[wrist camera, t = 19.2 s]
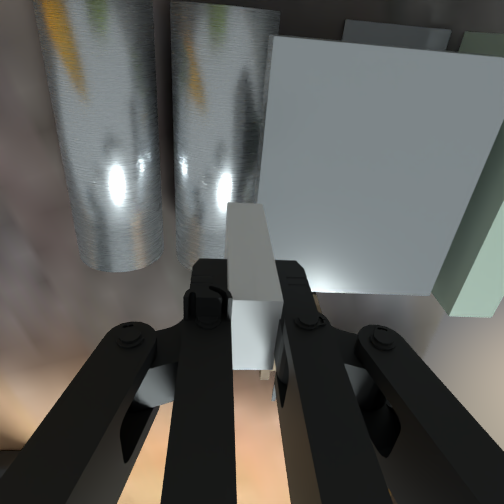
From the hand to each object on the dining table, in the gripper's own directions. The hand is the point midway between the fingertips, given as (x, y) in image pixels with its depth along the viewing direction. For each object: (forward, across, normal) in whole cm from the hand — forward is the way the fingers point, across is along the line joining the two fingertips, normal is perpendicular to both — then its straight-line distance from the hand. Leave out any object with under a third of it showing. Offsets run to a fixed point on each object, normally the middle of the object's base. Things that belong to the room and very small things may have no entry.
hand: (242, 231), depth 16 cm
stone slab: (+7, +7, 0) cm, 10 cm away
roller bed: (+13, -4, 0) cm, 14 cm away
